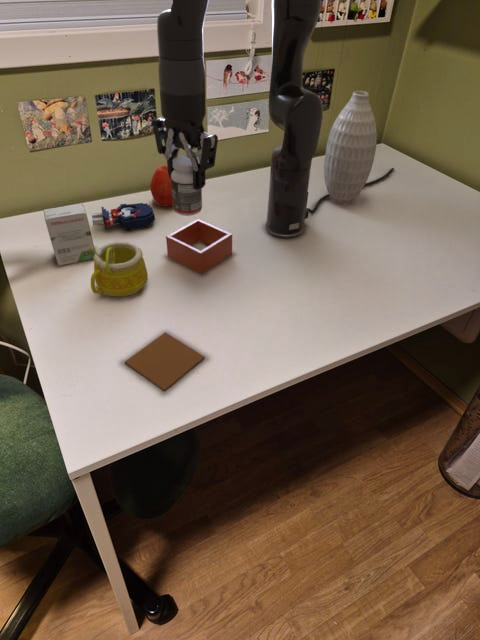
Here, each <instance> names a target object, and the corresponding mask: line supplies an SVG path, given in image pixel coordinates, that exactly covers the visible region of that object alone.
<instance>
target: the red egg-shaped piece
mask: <svg viewBox="0 0 480 640" xmlns="http://www.w3.org/2000/svg"><path fill="white" fill-rule="evenodd" d="M149 187H150V193H151V196H152V199H153V200H154V202H155V203H156V204H157V205H158V206H161V207H169V206H173V203H172V187H171V179H170V178H169V175H168V167H167V165H165V164H164V165H161V166H158V167H157V168H156V169H155V171H154V173H153V174H152V178H151V180H150V185H149Z"/></svg>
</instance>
